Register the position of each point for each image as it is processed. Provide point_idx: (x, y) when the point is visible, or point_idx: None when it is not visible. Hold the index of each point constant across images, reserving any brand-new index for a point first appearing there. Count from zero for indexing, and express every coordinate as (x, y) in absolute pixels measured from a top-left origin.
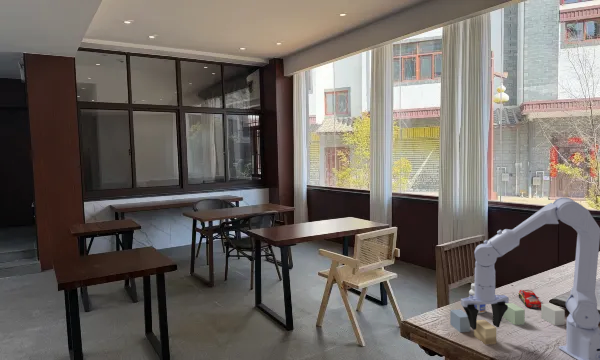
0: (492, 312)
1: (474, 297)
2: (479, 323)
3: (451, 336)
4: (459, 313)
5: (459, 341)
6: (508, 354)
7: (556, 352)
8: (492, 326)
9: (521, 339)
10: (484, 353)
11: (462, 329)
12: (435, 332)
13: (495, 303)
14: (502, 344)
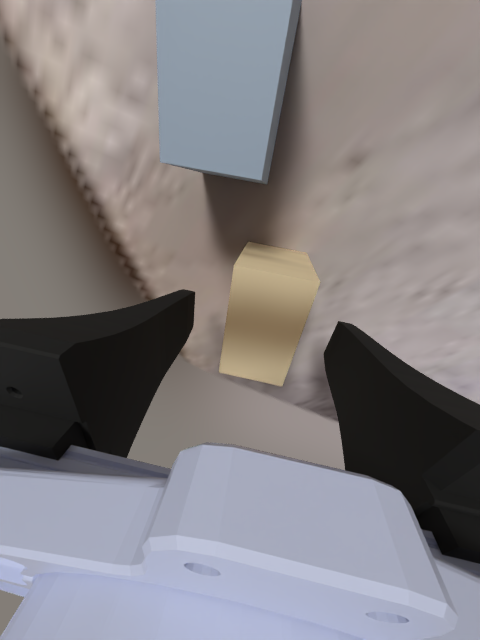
0: (380, 360)
1: (32, 573)
2: (237, 314)
3: (133, 200)
4: (209, 43)
5: (148, 261)
6: (257, 391)
7: None
8: (278, 369)
9: (412, 352)
10: (190, 360)
11: (213, 174)
12: (60, 110)
13: (416, 510)
14: (298, 347)
